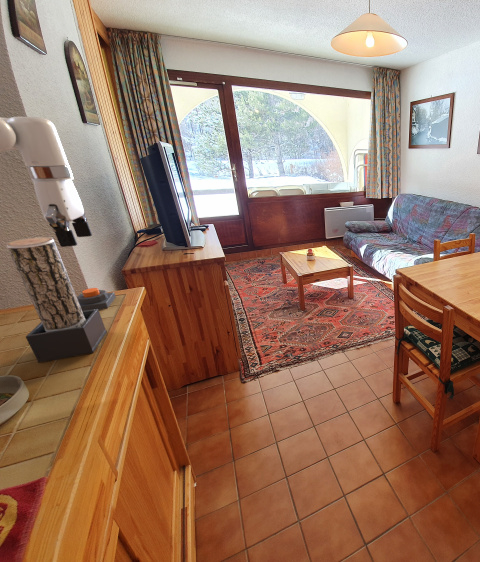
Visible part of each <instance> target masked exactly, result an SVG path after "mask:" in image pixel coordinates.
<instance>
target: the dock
mask: <svg viewBox="0 0 480 562" xmlns="http://www.w3.org/2000/svg"><path fill="white" fill-rule="evenodd" d="M82 312H83V314H84V317H85V319H86V321H85V323H84V324H83V325H82V326H81V327H77V328H71V329H64V330H58V331H51V332H46V331H45V329H44V326H43V324H42V322H41V321H40V322H39V323H38V324H37V325H36V326H35V327H34V328H33V329H32V330H31V331H30V332H29V333H28V334H26V336H25V339H26V340H27V343H28V345H29V346H30V349H31V351H32V353H33V355H34V356H35V359H36V361H37V363H38V364H40V363H46V362H51V361H57V360H62V359H68V358H74V357H78V356H83V355H88V354H89V355H90V354H94V353H95V351H96V350H97V348H98V347H99V345H100V343H101V342H102V340H103V339H104V337H105V336H106V334H107V330H106V326H105V324H104V321H103V318H102V316H101V312H100V309H99V310H98V309H94V310H87V311H82Z"/></svg>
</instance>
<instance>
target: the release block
mask: <svg viewBox="0 0 480 562" xmlns="http://www.w3.org/2000/svg"><path fill="white" fill-rule="evenodd" d="M98 290H99V293H100V294H99V295H97V296H93V297H88V298H86V297H84V296H83V293H80V294H78V296H76V297H77V299H78V302H79V304H80V307H81V309H82V311H87V310H94V309H98V310H99V311H100V310H104V309H105V310H106V309H109V307H110V306H111V304H113V302H114V301H115V299H116V298H117V296H116V293H115V292H107V291H106V290H105V289H98Z"/></svg>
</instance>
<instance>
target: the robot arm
mask: <svg viewBox="0 0 480 562" xmlns="http://www.w3.org/2000/svg"><path fill="white" fill-rule="evenodd" d="M12 150H14V151H15V150H18V151H19V153H20V155H21V158H22V160H23V163H24V165H25V168H26V171H27V173H28V175H29V177H30V180H31V181H32V182H33V188H34V192H35V196H36V199H37V203H38V205H39V207H40V210H41V214H42V216H43V218H44V221H45V222H47V223H49V224H48V225H49V226H50V228H51V229H52V232H54V234H55V237H56V239H57V241H58V244H59V246H60V248H61V247H62V248H65V247H67V248H68V247H75V246H77V245H78V242H77V239H76V237H77V238H87V237H92V236H93V233H92V230H91V227H90V226H89V223H88V218H87V217H86V212H85V210H84V206H83V204H82V201H81V198H80V196H79V193H78V191H77V189H76V186H75V185H74V182H73V181H72V180H74V179H75V178H74V175H73V173H72V170H71V167H70V165H69V161H68V160H67V155H66V154H65V151H64V148H63V145H62V142H61V139H60V137H59V134H58V132H57V128H56V126H55V124H54V123H53V122H52V121H51V120H50V119H48V118H45V117H38V116H37V117H36V116H12V117H0V153H2V152H7V151H12ZM70 222H72V223H71V224H72V228H73V230H74V232H75V235H76V237H75V235H74V232H73V230H72V229H70Z"/></svg>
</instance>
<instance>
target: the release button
mask: <svg viewBox="0 0 480 562" xmlns="http://www.w3.org/2000/svg"><path fill="white" fill-rule="evenodd" d="M99 290H100V289H99V288H98V287H90V288H86V289H84V290H82V292H81V294H83V296H84V297H86V298H88V297H93V296H97V295H99V294H100V293H99Z"/></svg>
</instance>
